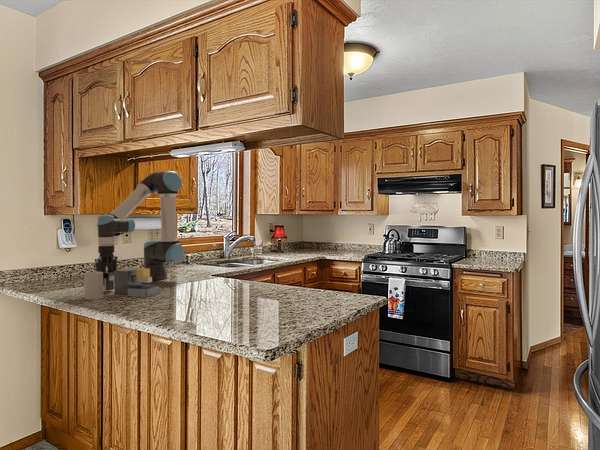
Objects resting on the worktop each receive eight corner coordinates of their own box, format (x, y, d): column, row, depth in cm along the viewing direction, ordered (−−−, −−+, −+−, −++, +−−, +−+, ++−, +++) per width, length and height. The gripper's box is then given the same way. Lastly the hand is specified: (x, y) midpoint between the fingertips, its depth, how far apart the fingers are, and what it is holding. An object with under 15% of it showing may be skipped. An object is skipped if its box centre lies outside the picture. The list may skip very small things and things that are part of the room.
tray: (141, 291, 218) (141, 285, 218) (159, 293, 214) (159, 286, 214) (127, 295, 208) (127, 288, 208) (146, 297, 205) (146, 289, 205)
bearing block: (128, 290, 220) (128, 267, 220) (141, 291, 218) (141, 268, 217) (114, 294, 211) (114, 270, 210) (127, 295, 208) (127, 271, 208)
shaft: (106, 288, 221) (105, 271, 221) (152, 292, 212) (152, 274, 212) (100, 290, 217) (99, 272, 217) (147, 293, 208) (147, 275, 208)
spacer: (143, 275, 214) (143, 268, 214) (149, 276, 213) (149, 268, 213) (136, 277, 209) (136, 269, 209) (143, 277, 208) (143, 269, 208)
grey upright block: (102, 298, 201) (102, 273, 201) (83, 300, 198) (83, 274, 198) (103, 295, 209) (103, 271, 208) (85, 296, 206) (85, 272, 205)
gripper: (112, 243, 227) (113, 287, 228) (87, 246, 211) (88, 293, 211) (124, 244, 225) (124, 288, 225) (99, 246, 208) (100, 294, 209)
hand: (107, 290), depth 218 cm, fingers closed on shaft, 4 cm apart
